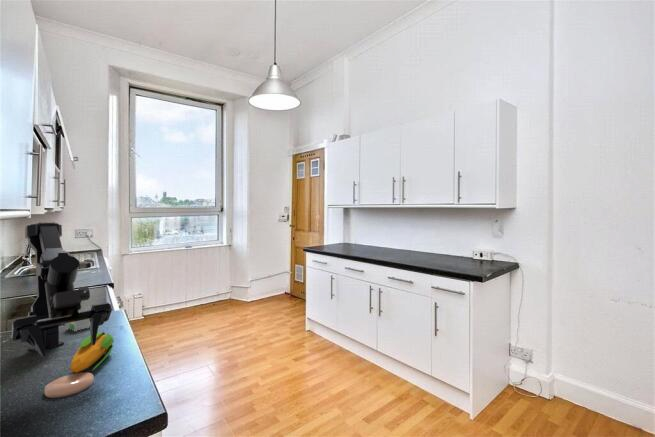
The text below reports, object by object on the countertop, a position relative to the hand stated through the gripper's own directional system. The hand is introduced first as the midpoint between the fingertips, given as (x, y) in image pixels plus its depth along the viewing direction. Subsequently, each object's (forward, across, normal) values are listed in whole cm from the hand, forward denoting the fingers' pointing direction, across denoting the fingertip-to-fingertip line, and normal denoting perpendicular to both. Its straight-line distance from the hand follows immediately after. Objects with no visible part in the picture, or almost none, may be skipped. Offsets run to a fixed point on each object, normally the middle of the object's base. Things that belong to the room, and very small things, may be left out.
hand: (70, 350), depth 74 cm
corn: (-1, +6, +14) cm, 15 cm away
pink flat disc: (+6, 0, +7) cm, 9 cm away
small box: (-28, +11, +41) cm, 51 cm away
